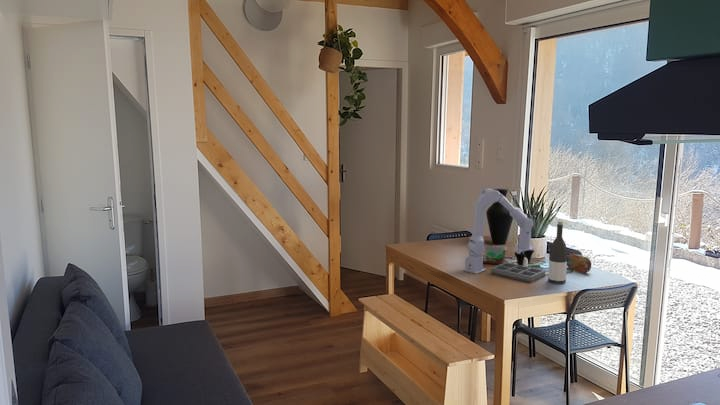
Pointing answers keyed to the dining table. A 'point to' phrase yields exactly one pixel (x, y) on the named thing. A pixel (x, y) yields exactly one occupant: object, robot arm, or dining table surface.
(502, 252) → the food container
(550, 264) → the wine bottle
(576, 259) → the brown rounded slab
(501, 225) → the vase
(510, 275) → the grey compartment tray
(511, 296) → the dining table surface
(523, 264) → the egg
